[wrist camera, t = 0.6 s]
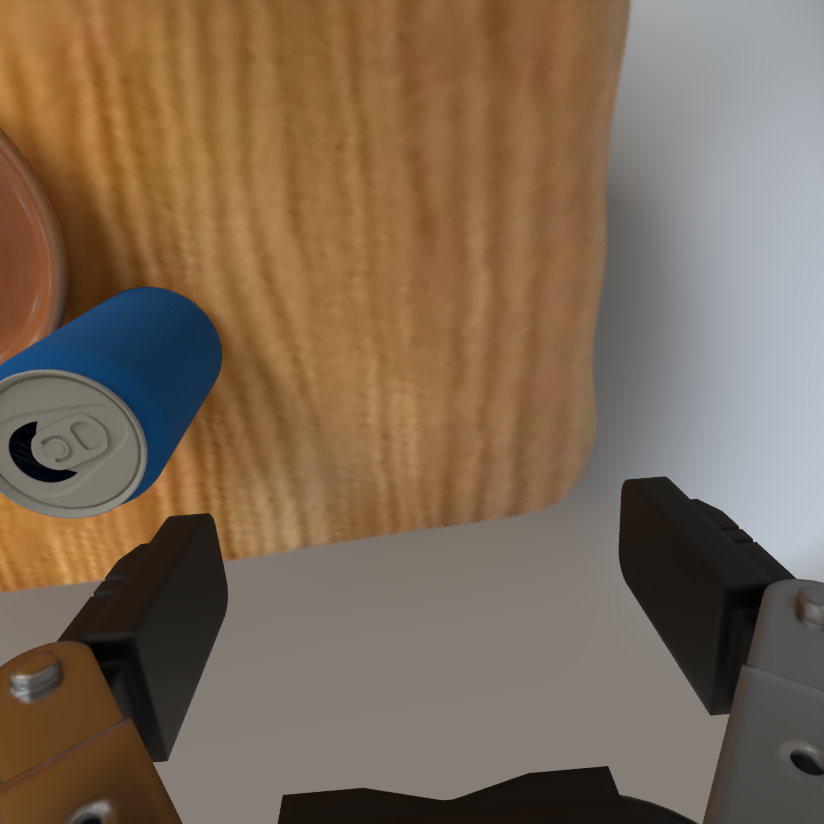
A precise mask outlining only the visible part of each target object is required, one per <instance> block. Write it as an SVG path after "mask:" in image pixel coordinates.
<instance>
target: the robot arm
mask: <svg viewBox="0 0 824 824" xmlns="http://www.w3.org/2000/svg"><path fill="white" fill-rule="evenodd" d="M619 561H620V566H621V571H622V574H623V577H624V579H625V582H626V583H627V585H628V587H629V588H630V589H631V591H632V593H633V594H634V596H635V597H636V599H637V601H638V602H639V604H640V606H641V607H642V609H643V610H644V612H645V613H646V615H647V617H648V618H649V620H650V621H651V623H652V624H653V626H654V627H655V629H656V631H657V632H658V634H659V635H660V637H661V639H662V640H663V642H664V643H665V645H666V646H667V648H668V650H669V651H670V653H671V654H672V656H673V657H674V659H675V660H676V662H677V664H678V665H679V667H680V668H681V670H682V672H683V673H684V675H685V676H686V678H687V680H688V681H689V682H690V684H691V686H692V687H693V689H694V691H695V692H696V694H697V695H698V696H699V698H700V700H701V701H702V703H703V705H704V706H705V708H706V710H707V711H708V712H709V714H710V715H722V714H730V716H729V719H728V724H727V727H726V731H725V736H724V740H723V743H722V748H721V752H720V755H719V760H718V763H717V768H716V772H715V776H714V780H713V784H712V788H711V792H710V796H709V800H708V804H707V808H706V812H705V816H704V820H703V824H824V583H822V582H817V581H812V580H803V579H796V578H795V577H794V576H793V575H792V574H791V573H790V572H789V571H788V570H786V569H785V568H784V567H783V566H782V565H781V564H780V563H779V562H778V561H777V560H775V559H774V558H773V557H772V556H771V555H770V554H769V553H768V552H767V551H765V550H764V549H763V548H762V547H761V546H760V545H759V544H758V543H757V542H753V539H752V538H751V537H750V536H749V535H748V534H747V533H746V532H744V530H742V529H739V526H738V525H737V524H736V523H735V522H734V521H733V520H731V519H730V518H729V517H728V516H727V515H726V514H725V513H724V512H723V511H721V510H719V509H717V508H715V507H713V506H711V505H708V504H707V503H704V502H702V501H700V500H698V499H689V498H688V497H687V496H686V495H685V494H684V493H683V492H682V491H681V490H680V489H679V488H678V487H677V486H676V485H675V484H674V483H673V482H672V481H671V480H670V479H668V478H667V477H652V478H641V479H628V480H626V481H625V482H624V483H623V486H622V491H621V510H620V533H619ZM227 601H228V587H227V580H226V575H225V570H224V565H223V560H222V555H221V550H220V545H219V540H218V535H217V530H216V526H215V522H214V519H213V517H212V516H211V515H210V514H209V513H205V514H192V515H180V516H170V517H168V518H167V519H166V520H165V522H164V523H163V525H162V526H161V528H160V529H159V530H158V532H157V533H156V535H155V536H154V537H153V539H152V540H151V542H150V543H148V544H140V545H139V546H138V547H136V548H135V549H133V550H132V551H131V552H129V553H128V554H127V555H125V556H124V557H122V558H121V559H120V560H118V562H117V563H116V564H115V566H114V567H113V568H112V569H111V571H110V572H109V573H108V575H107V576H106V577H105V581H103V582H102V583H101V584H100V585H99V587H98V588H97V589H96V591H95V592H94V596H93V597H90V598H89V600H88V601H87V602H86V604H85V605H84V606H83V608H82V609H81V610H80V612H79V613H78V614H77V616H76V617H75V618H74V619H73V621H72V622H71V624H70V625H69V626H68V627H67V629H66V630H65V631H64V633H63V634H62V635H61V637H60V638H59V639H58V641H57V642H54V643H49V644H46V645H42V646H39V647H36V648H34V649H31V650H29V651H27V652H25V653H22V654H20V655H18V656H17V657H15V658H13V659H11V660H10V661H8V662H7V663H5V664H4V665H2V666H1V667H0V824H182V821H181V819H180V817H179V815H178V813H177V811H176V809H175V807H174V805H173V803H172V801H171V799H170V797H169V795H168V793H167V791H166V789H165V787H164V785H163V783H162V780H161V778H160V776H159V775H158V772H157V770H156V768H155V766H154V764H153V762H163V761H168V758H169V756H170V753H171V751H172V748H173V745H174V743H175V740H176V738H177V736H178V733H179V730H180V728H181V725H182V723H183V720H184V718H185V715H186V713H187V710H188V708H189V705H190V703H191V700H192V698H193V695H194V693H195V690H196V688H197V685H198V683H199V680H200V678H201V675H202V673H203V670H204V667H205V665H206V662H207V660H208V657H209V655H210V652H211V650H212V647H213V645H214V642H215V640H216V637H217V635H218V632H219V630H220V627H221V624H222V622H223V620H224V617H225V614H226V610H227ZM278 824H698V823H696V822H695V821H693V820H691V819H689V818H687V817H685V816H682V815H681V814H678V813H677V812H674V811H672V810H670V809H667V808H665V807H662V806H659V805H657V804H654V803H651V802H648V801H644V800H640V799H637V798H633V797H628V796H622V795H619V793H618V790H617V787H616V785H615V782H614V780H613V777H612V775H611V772H610V770H609V767H608V766H605V767H593V768H581V769H571V770H559V771H548V772H537V773H528V774H525V775H522V776H519V777H516V778H513V779H511V780H508V781H505V782H502V783H499V784H496V785H493V786H491V787H488V788H485V789H482V790H479V791H476V792H474V793H471V794H468V795H465V796H462V797H459V798H456V799H452V800H436V799H430V798H424V797H418V796H411V795H405V794H399V793H392V792H386V791H379V790H373V789H367V788H357V789H346V790H334V791H323V792H312V793H300V794H289V795H283V797H282V803H281V808H280V815H279V820H278Z"/></svg>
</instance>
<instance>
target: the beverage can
mask: <svg viewBox="0 0 824 824" xmlns="http://www.w3.org/2000/svg"><path fill="white" fill-rule="evenodd" d="M221 363H222V349H221V344H220V339H219V336H218V334H217V331H216V329H215V327H214V325H213V324H212V322H211V321H210V319H209V318H208V316H207V315H206V314H205V313H204V312H203V311H202V310H201V309H200V308H199V307H198V306H197V305H196V304H194V303H193V302H192V301H190V300H189V299H187V298H185V297H184V296H182V295H180V294H177V293H175V292H173V291H170V290H166V289H162V288H155V287H139V288H133V289H128V290H125V291H123V292H120V293H118V294H116V295H115V296H113V297H111V298H109V299H108V300H106V301H104V302H103V303H101V304H99V305H98V306H96V307H94V308H93V309H91V310H90V311H88V312H86V313H85V314H83V315H81V316H80V317H78V318H76V319H75V320H73V321H71V322H70V323H68V324H66V325H65V326H63V327H61V328H60V329H58V330H56V331H55V332H53V333H51V334H50V335H48V336H46V337H45V338H43V339H41V340H40V341H38V342H36V343H35V344H33V345H31V346H30V347H28V348H26V349H25V350H23V351H21V352H20V353H18V354H16V355H15V356H13V357H11V358H10V359H8V360H6V361H5V362H4V363H3V364H1V365H0V492H1V493H2V494H3V495H4V496H5V497H7V498H9V499H10V500H12V501H13V502H15V503H16V504H18V505H20V506H22V507H24V508H26V509H29V510H31V511H34V512H36V513H40V514H43V515H46V516H51V517H57V518H67V519H74V518H86V517H92V516H96V515H100V514H103V513H105V512H108V511H110V510H112V509H114V508H116V507H118V506H119V505H121V504H124V503H127V502H129V501H131V500H132V499H134V498H136V497H138V496H139V495H140V494H142V493H143V492H145V491H146V490H147V489H148V488H149V487H150V486H151V485H152V484H153V483H154V482H155V481H156V479H157V478H158V477H159V475H160V474H161V472H162V470H163V469H164V467H165V465H166V464H167V462H168V460H169V459H170V457H171V455H172V453H173V452H174V450H175V448H176V447H177V445H178V443H179V442H180V440H181V438H182V437H183V435H184V433H185V432H186V430H187V428H188V427H189V425H190V423H191V422H192V420H193V418H194V417H195V415H196V413H197V412H198V410H199V408H200V406H201V405H202V403H203V401H204V400H205V398H206V396H207V395H208V393H209V391H210V390H211V388H212V386H213V385H214V383H215V381H216V379H217V377H218V375H219V372H220V368H221Z"/></svg>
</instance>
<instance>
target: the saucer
mask: <svg viewBox="0 0 824 824" xmlns="http://www.w3.org/2000/svg"><path fill="white" fill-rule="evenodd" d="M68 292H69V269H68V258H67V250H66V245H65V241H64V237H63V233H62V229H61V226H60V223H59V220H58V217H57V215H56V212H55V210H54V207H53V205H52V202H51V200H50V198H49V196H48V194H47V192H46V190H45V188H44V187H43V185H42V183H41V181H40V180H39V178H38V176H37V175H36V173H35V171H34V170H33V168H32V167H31V165H30V164H29V162H28V161H27V160H26V158H25V157H24V156H23V154H22V153H21V152H20V150H19V149H18V148H17V147H16V145H15V144H14V143H13V142H12V141H11V140H10V138H9V137H8V136H7V135H6V134H5V133H4V132H3V131H2V130H1V129H0V365H1V364H3V363H4V362H5V361H6V360H8V359H10V358H11V357H13V356H15V355H16V354H18V353H20V352H21V351H23V350H25V349H26V348H28V347H30V346H31V345H33V344H35V343H36V342H38V341H40V340H41V339H43V338H45V337H46V336H48V335H50V334H51V333H53V332H55V331H56V330H58V329H60V328H61V326H62V323H63V319H64V315H65V311H66V307H67V300H68Z"/></svg>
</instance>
